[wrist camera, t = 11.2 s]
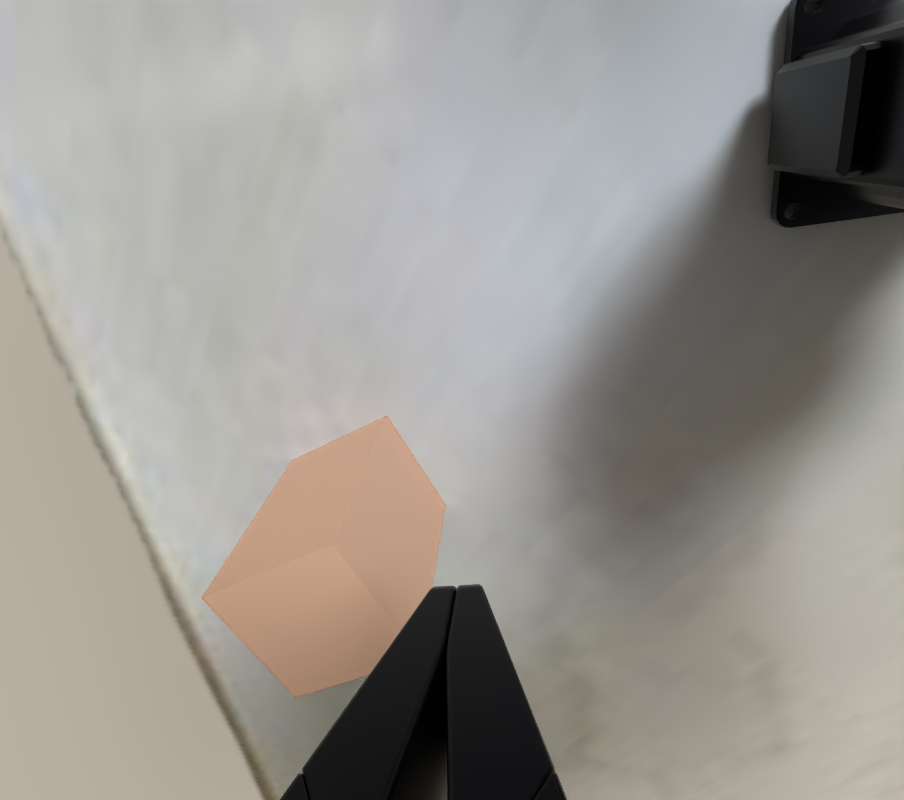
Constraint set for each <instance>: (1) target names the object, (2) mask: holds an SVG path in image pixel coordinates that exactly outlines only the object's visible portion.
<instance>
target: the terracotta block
mask: <svg viewBox="0 0 904 800" xmlns="http://www.w3.org/2000/svg"><path fill="white" fill-rule="evenodd" d="M445 507H446V504H445V502H444V501H443V499H442V498H441V496H440V495H439V493H438V492H437V490H436V489H435V487H434V486H433V484H432V483H431V481H430V480H429V478H428V476H427V475H426V473H425V472H424V470H423V469H422V467H421V466H420V464H419V463H418V461H417V460H416V458H415V457H414V455H413V454H412V452H411V451H410V449H409V448H408V446H407V445H406V443H405V442H404V440H403V438H402V437H401V435H400V434H399V432H398V431H397V429H396V428H395V426H394V425H393V423H392V422H391V420H390V419H389V417H388V416H385V417H383V418H381V419H379V420H377V421H374V422H372V423H370V424H368V425H366V426H364V427H362V428H359V429H357V430H355V431H353V432H351V433H349V434H347V435H345V436H342V437H340V438H338V439H336V440H334V441H332V442H330V443H328V444H325V445H323V446H321V447H319V448H317V449H315V450H313V451H311V452H308V453H306V454H304V455H302V456H300V457H298V458H296V459H294V460H292V461H291V463H290V464H289V466H288V467H287V469H286V470H285V472H284V473H283V475H282V477H281V478H280V480H279V481H278V483H277V484H276V486H275V487H274V489H273V490H272V492H271V493H270V495H269V496H268V498H267V499H266V501H265V502H264V504H263V505H262V507H261V508H260V510H259V511H258V513H257V514H256V516H255V517H254V519H253V520H252V522H251V523H250V525H249V526H248V528H247V529H246V531H245V532H244V534H243V535H242V537H241V539H240V540H239V542H238V543H237V545H236V546H235V548H234V549H233V551H232V552H231V554H230V555H229V557H228V558H227V560H226V561H225V563H224V564H223V566H222V567H221V569H220V570H219V572H218V573H217V575H216V576H215V578H214V579H213V581H212V582H211V584H210V585H209V587H208V588H207V590H206V591H205V593H204V594H203V596H202V597H201V598H202V599H203V601H204V602H205V603H206V604H207V605H208V606H209V607H210V608H211V609H212V610H213V611H214V612H215V613H216V614H217V615H218V616H219V618H220V619H221V620H222V621H223V622H224V623H225V624H226V625H227V626H228V627H229V628H230V629H231V630H232V631H233V632H234V633H235V635H236V636H237V637H238V638H239V639H240V640H241V641H242V642H243V643H244V644H245V645H246V646H247V647H248V648H249V649H250V650H251V652H252V653H253V654H254V655H255V656H256V657H257V658H258V659H259V660H260V661H261V662H262V663H263V664H264V665H265V666H266V667H267V668H268V670H269V671H270V672H271V673H272V674H273V675H274V676H275V677H276V678H277V679H278V680H279V681H280V682H281V683H282V684H283V685H284V687H285V688H286V689H287V690H288V691H289V692H290V693H291V694H292V695H293V696H294V697H295V698H297V697H300V696H303V695H307V694H310V693H313V692H316V691H319V690H322V689H326V688H329V687H332V686H335V685H338V684H342V683H345V682H348V681H351V680H354V679H358V678H361V677H364V676H367V675H369V674H370V673H371V671H372V670H373V669H374V667H375V666H376V664H377V663H378V662H379V660H380V659H381V657H382V656H383V655H384V653H385V652H386V650H387V649H388V648H389V646H390V645H391V643H392V642H393V641H394V639H395V638H396V636H397V635H398V634H399V632H400V631H401V629H402V628H403V626H404V625H405V624H406V622H407V621H408V619H409V618H410V617H411V615H412V614H413V612H414V611H415V610H416V608H417V607H418V605H419V604H420V603H421V601H422V600H423V598H424V597H425V596H426V594H427V593H428V591H429V590H430V589H431V588H432V587H433V581H434V575H435V569H436V562H437V556H438V550H439V544H440V538H441V531H442V525H443V519H444V513H445Z"/></svg>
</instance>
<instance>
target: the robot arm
mask: <svg viewBox="0 0 904 800" xmlns="http://www.w3.org/2000/svg"><path fill="white" fill-rule="evenodd" d="M805 3H806V0H792V1H791V2H790V6H789V10H788V21H787V33H786V44H785V55H784V65H783V66H782V67H781V68H780V70H779V71H778V72H777V73H776V75H775V79H774V91H773V103H772V115H771V127H770V139H769V151H768V164H769V165H770V166H771V167H772V168H773V169H774V179H773V190H772V202H771V219H772V220H773V222H774V223H776V224H777V225H779V226H783V227H789V228H792V227H799V226H807V225H814V224H821V223H828V222H835V221H843V220H850V219H857V218H864V217H872V216H879V215H886V214H893V213H901V212H904V0H817V8H816V11H815V12H814V13H813V14H812V15H811V14H808V13H807V12H806V11H805ZM792 203H794V204H795V208H796V209H795V212H794V214H793V215H792V216H791V217H788V218H786V217H785V215H784V212H785V209H786V208H787V207H788V205H790V204H792ZM302 771H303V774H301V773H300V774H298V775H297V777H296V778H295V779H294V781H293V782H292V784H291V785H290V786H289V788H288V789H287V791H286V792H285V793H284V795H283V796H282V798H281V799H280V800H567V798H566V796H565V793H564V791H563V788H562V786H561V783H560V780H559V778H558V775H557V774H556V773H555V770H554V766H553V764H552V761H551V758H550V756H549V753H548V751H547V748H546V746H545V743H544V741H543V738H542V736H541V733H540V731H539V728H538V726H537V723H536V721H535V718H534V716H533V713H532V710H531V708H530V705H529V703H528V700H527V698H526V695H525V693H524V690H523V688H522V685H521V683H520V680H519V678H518V675H517V673H516V670H515V668H514V665H513V663H512V660H511V657H510V655H509V652H508V650H507V647H506V645H505V642H504V640H503V637H502V635H501V632H500V630H499V627H498V625H497V622H496V620H495V617H494V615H493V612H492V610H491V607H490V604H489V602H488V599H487V597H486V594H485V592H484V589H483V587H482V586H481V585H479V584H475V585H460V586H458V588H457V589H456V587H454V586H438V587H433V588H431V589H430V590H429V591H428V593H427V594H426V596H425V597H424V598H423V600H422V601H421V603H420V604H419V605H418V607H417V608H416V610H415V611H414V612H413V614H412V615H411V617H410V618H409V619H408V621H407V622H406V624H405V625H404V626H403V628H402V629H401V631H400V632H399V634H398V635H397V636H396V638H395V639H394V641H393V642H392V643H391V645H390V646H389V648H388V649H387V650H386V652H385V653H384V655H383V656H382V657H381V659H380V660H379V662H378V663H377V664H376V666H375V667H374V669H373V670H372V671H371V673H370V674H369V676H368V677H367V679H366V680H365V681H364V683H363V684H362V686H361V687H360V688H359V690H358V691H357V693H356V694H355V695H354V697H353V698H352V700H351V701H350V702H349V704H348V705H347V707H346V708H345V709H344V711H343V712H342V714H341V715H340V717H339V718H338V719H337V721H336V722H335V724H334V725H333V726H332V728H331V729H330V731H329V732H328V733H327V735H326V736H325V738H324V739H323V740H322V742H321V743H320V745H319V746H318V747H317V749H316V750H315V752H314V753H313V754H312V756H311V757H310V759H309V760H308V762H307V763H306V764H305V766H304V767H303V769H302Z"/></svg>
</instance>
